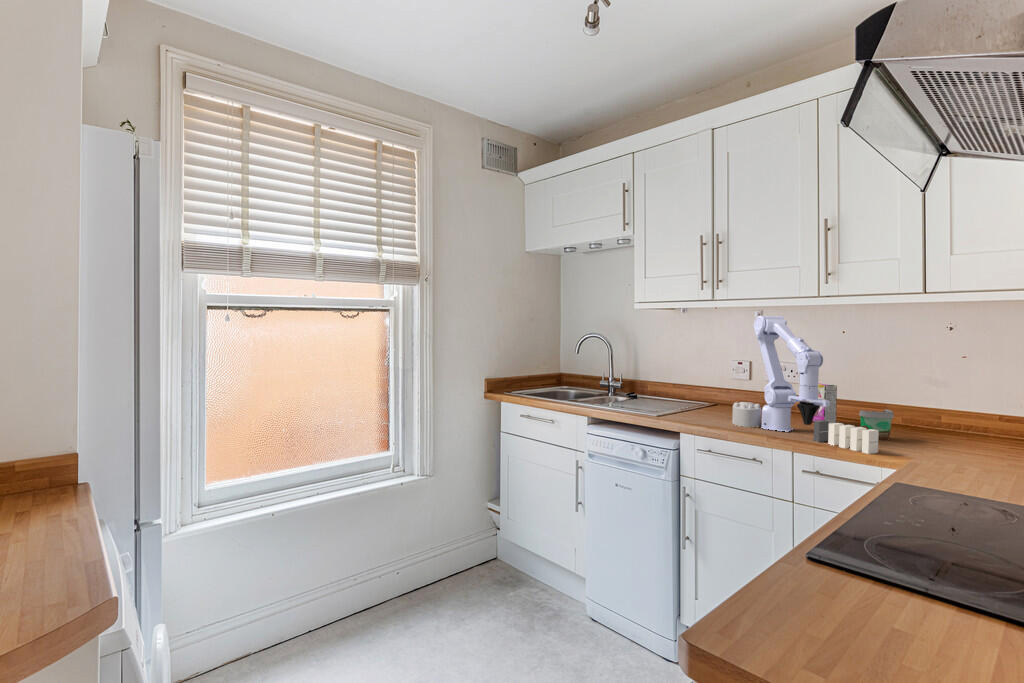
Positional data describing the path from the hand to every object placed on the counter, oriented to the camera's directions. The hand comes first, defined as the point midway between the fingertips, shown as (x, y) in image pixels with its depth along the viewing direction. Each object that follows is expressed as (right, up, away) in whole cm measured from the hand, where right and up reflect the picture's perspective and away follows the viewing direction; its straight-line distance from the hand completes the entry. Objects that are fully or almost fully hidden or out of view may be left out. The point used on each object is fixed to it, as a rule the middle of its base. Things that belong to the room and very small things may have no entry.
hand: (807, 424), depth 178 cm
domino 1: (+4, -5, -10) cm, 12 cm away
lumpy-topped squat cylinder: (-10, -4, +24) cm, 27 cm away
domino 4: (+8, -6, -20) cm, 22 cm away
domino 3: (+6, -5, -17) cm, 19 cm away
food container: (+25, -5, -1) cm, 26 cm away
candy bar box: (+22, -5, +28) cm, 36 cm away
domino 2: (+5, -5, -13) cm, 15 cm away
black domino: (+2, -5, -5) cm, 7 cm away
